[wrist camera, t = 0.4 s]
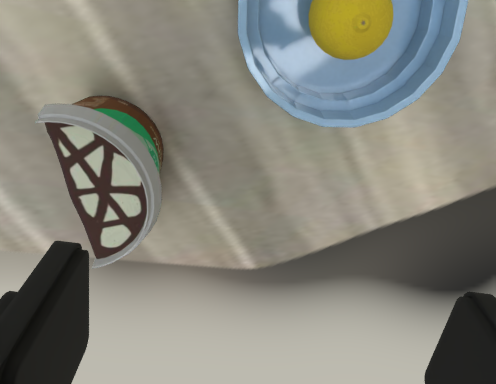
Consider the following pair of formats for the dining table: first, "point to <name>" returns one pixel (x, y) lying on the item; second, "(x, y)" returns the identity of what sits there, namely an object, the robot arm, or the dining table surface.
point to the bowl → (347, 71)
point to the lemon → (350, 26)
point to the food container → (108, 170)
